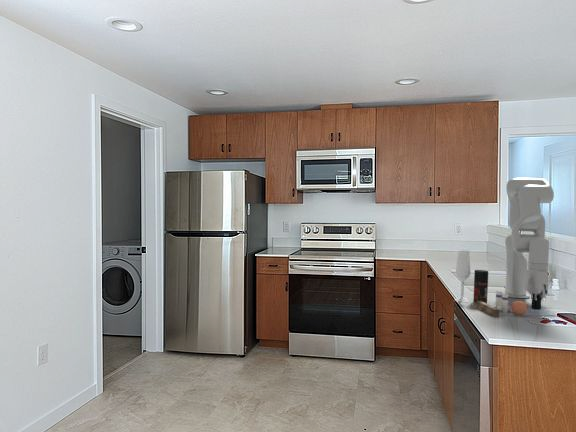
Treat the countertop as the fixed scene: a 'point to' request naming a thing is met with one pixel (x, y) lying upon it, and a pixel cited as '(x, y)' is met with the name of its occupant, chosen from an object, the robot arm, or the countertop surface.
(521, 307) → the ball
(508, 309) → the pin front
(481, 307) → the back wall
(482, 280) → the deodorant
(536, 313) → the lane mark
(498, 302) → the pin
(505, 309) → the pin
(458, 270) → the champagne flute
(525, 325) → the countertop surface
